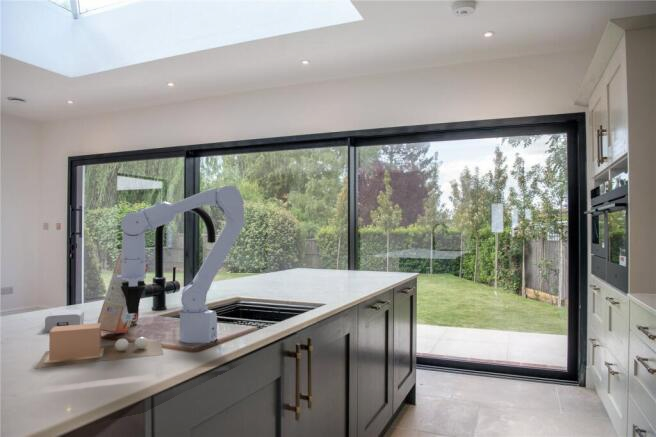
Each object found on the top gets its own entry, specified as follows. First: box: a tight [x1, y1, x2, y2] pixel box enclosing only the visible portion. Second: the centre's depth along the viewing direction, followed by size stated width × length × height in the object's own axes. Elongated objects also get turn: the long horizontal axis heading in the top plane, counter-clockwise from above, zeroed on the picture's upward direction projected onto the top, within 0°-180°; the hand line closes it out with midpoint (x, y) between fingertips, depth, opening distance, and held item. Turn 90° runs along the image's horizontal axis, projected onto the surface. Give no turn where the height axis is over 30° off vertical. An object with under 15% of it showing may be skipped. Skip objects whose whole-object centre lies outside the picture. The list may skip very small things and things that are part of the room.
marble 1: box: [114, 338, 129, 351], centre depth 107 cm, size 3×3×3 cm
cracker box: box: [96, 253, 149, 334], centre depth 125 cm, size 14×6×21 cm, turn 12°
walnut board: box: [33, 340, 164, 369], centre depth 105 cm, size 26×14×1 cm, turn 114°
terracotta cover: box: [48, 322, 102, 361], centre depth 103 cm, size 10×6×6 cm, turn 114°
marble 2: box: [134, 336, 148, 349], centre depth 109 cm, size 3×3×3 cm
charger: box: [44, 308, 85, 332], centre depth 139 cm, size 5×9×15 cm
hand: (132, 310), depth 114 cm, fingers open, 6 cm apart
